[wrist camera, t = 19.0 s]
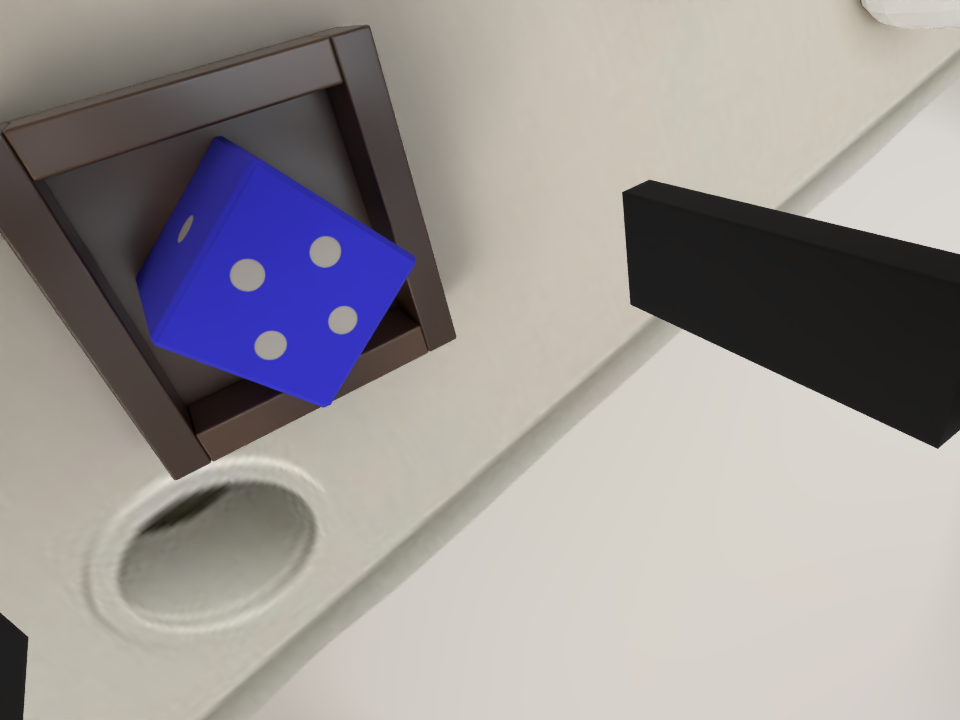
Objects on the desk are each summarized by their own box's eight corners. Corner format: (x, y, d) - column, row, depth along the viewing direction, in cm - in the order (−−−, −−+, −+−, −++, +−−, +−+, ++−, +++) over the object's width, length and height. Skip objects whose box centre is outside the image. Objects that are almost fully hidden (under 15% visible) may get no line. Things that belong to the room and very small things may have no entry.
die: (215, 132, 17) (255, 155, 14) (356, 220, 21) (420, 259, 17) (132, 281, 18) (147, 345, 14) (283, 345, 21) (329, 411, 17)
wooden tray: (165, 440, 21) (174, 482, 19) (-43, 135, 15) (-61, 148, 13) (426, 314, 24) (457, 338, 22) (338, 26, 18) (370, 23, 16)
